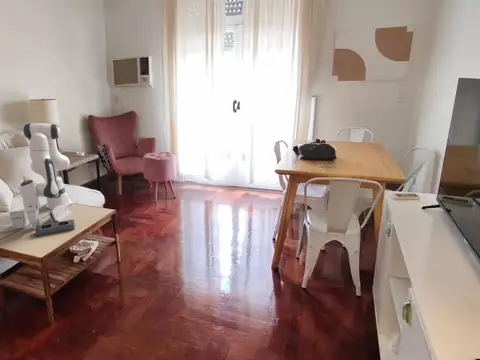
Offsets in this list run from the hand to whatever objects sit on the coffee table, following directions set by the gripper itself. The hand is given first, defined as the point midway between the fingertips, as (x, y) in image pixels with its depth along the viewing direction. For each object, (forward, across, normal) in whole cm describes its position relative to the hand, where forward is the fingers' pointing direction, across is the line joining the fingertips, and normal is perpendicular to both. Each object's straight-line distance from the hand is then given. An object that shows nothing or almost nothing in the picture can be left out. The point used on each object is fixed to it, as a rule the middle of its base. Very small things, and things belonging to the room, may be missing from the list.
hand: (36, 224), depth 228 cm
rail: (+3, +11, +12) cm, 16 cm away
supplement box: (+3, -8, -10) cm, 13 cm away
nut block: (+3, 0, 0) cm, 3 cm away
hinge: (+3, -11, +14) cm, 18 cm away
